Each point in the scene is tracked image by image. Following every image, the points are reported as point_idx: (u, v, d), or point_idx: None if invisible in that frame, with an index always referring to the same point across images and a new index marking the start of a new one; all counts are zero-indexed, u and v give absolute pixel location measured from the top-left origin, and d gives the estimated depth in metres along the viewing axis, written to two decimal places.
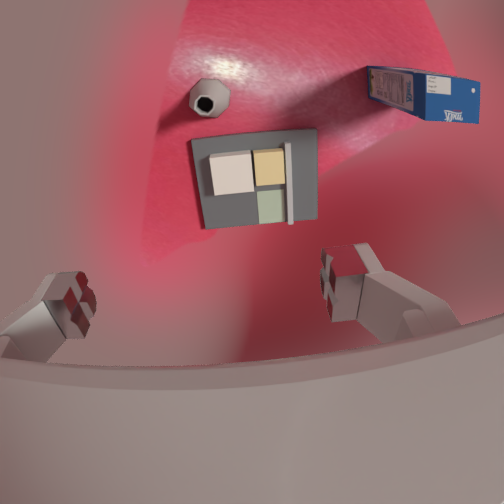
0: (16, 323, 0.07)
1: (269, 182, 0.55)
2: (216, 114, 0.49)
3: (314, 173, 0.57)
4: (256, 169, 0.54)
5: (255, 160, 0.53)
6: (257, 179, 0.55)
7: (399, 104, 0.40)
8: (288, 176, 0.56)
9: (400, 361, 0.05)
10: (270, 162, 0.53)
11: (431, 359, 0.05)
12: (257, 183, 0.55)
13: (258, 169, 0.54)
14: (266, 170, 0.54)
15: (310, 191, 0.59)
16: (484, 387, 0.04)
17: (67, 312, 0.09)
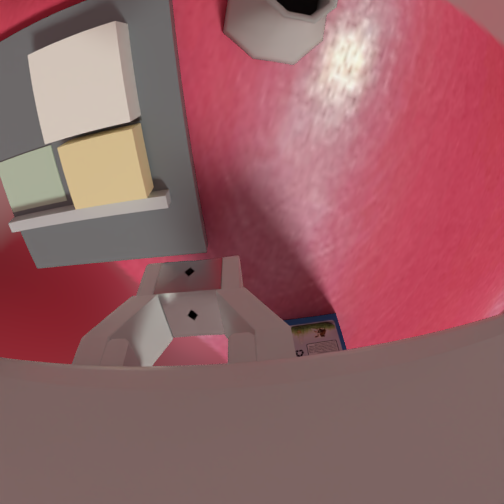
0: (127, 322, 0.07)
1: (70, 175, 0.20)
2: (236, 29, 0.16)
3: (114, 255, 0.27)
4: (93, 141, 0.19)
5: (114, 135, 0.19)
6: (71, 147, 0.19)
7: None
8: (93, 209, 0.23)
9: (400, 361, 0.05)
10: (115, 171, 0.20)
11: (431, 359, 0.05)
12: (62, 148, 0.19)
13: (94, 146, 0.19)
14: (95, 165, 0.20)
15: (78, 251, 0.26)
16: (484, 387, 0.04)
17: (186, 306, 0.09)
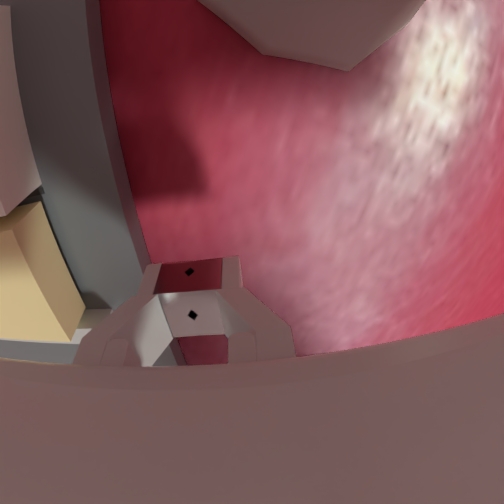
0: (127, 322, 0.07)
1: None
2: None
3: None
4: None
5: None
6: None
7: None
8: None
9: (400, 361, 0.05)
10: (9, 298, 0.09)
11: (431, 359, 0.05)
12: None
13: None
14: None
15: None
16: (484, 388, 0.04)
17: (186, 306, 0.09)
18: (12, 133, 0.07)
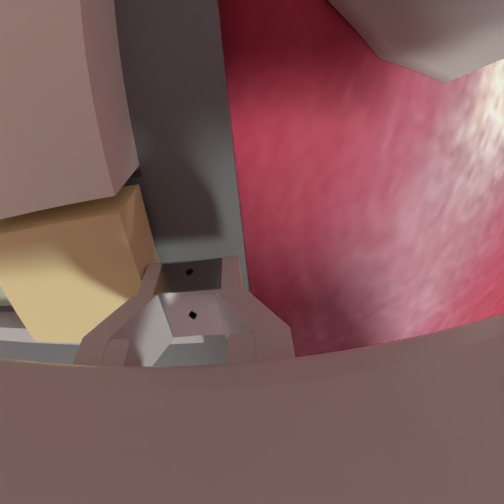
0: (128, 322, 0.07)
1: (11, 291, 0.09)
2: None
3: None
4: (38, 234, 0.08)
5: (81, 225, 0.08)
6: (0, 242, 0.08)
7: None
8: None
9: (400, 361, 0.05)
10: (93, 296, 0.09)
11: (431, 359, 0.05)
12: None
13: (41, 244, 0.08)
14: (50, 279, 0.09)
15: None
16: (484, 387, 0.04)
17: (187, 306, 0.09)
18: (116, 102, 0.08)
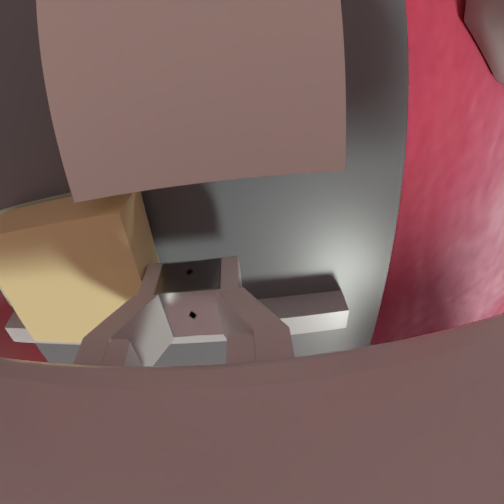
0: (128, 322, 0.07)
1: (10, 290, 0.09)
2: None
3: None
4: (38, 233, 0.08)
5: (81, 225, 0.08)
6: None
7: None
8: None
9: (400, 361, 0.05)
10: (93, 295, 0.09)
11: (431, 359, 0.05)
12: None
13: (41, 243, 0.08)
14: (50, 279, 0.09)
15: None
16: (483, 387, 0.04)
17: (187, 306, 0.09)
18: None
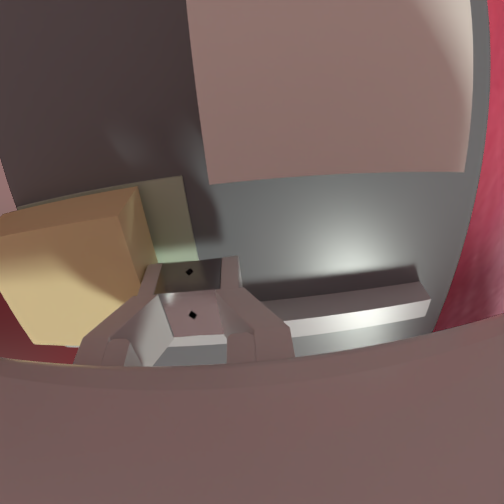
0: (128, 322, 0.07)
1: (9, 293, 0.09)
2: None
3: None
4: (36, 236, 0.08)
5: (79, 228, 0.08)
6: None
7: None
8: None
9: (400, 361, 0.05)
10: (92, 299, 0.09)
11: (431, 359, 0.05)
12: None
13: (39, 246, 0.08)
14: (49, 282, 0.09)
15: None
16: (484, 387, 0.04)
17: (187, 306, 0.09)
18: None
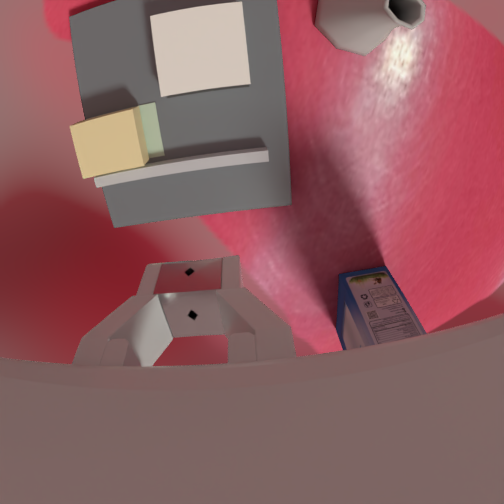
0: (128, 322, 0.07)
1: (79, 149, 0.24)
2: (331, 24, 0.21)
3: (204, 209, 0.30)
4: (100, 119, 0.23)
5: (118, 114, 0.23)
6: (81, 125, 0.23)
7: None
8: (197, 162, 0.27)
9: (400, 361, 0.05)
10: (118, 144, 0.24)
11: (431, 359, 0.05)
12: (74, 127, 0.23)
13: (101, 123, 0.23)
14: (101, 139, 0.23)
15: (166, 206, 0.30)
16: (484, 387, 0.04)
17: (186, 306, 0.09)
18: None
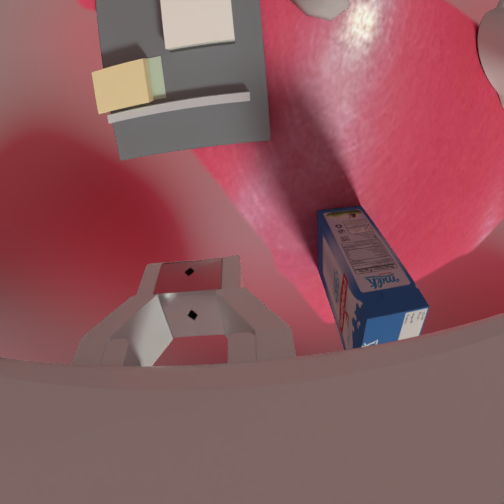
0: (127, 322, 0.07)
1: (98, 90, 0.28)
2: None
3: (197, 143, 0.35)
4: (117, 66, 0.27)
5: (131, 62, 0.27)
6: (101, 71, 0.27)
7: (351, 265, 0.31)
8: (192, 101, 0.31)
9: (400, 361, 0.05)
10: (129, 85, 0.28)
11: (431, 359, 0.05)
12: (95, 72, 0.27)
13: (117, 69, 0.27)
14: (116, 82, 0.28)
15: (165, 141, 0.34)
16: (483, 387, 0.04)
17: (186, 306, 0.09)
18: None
